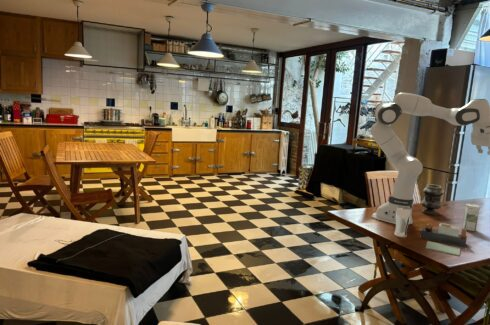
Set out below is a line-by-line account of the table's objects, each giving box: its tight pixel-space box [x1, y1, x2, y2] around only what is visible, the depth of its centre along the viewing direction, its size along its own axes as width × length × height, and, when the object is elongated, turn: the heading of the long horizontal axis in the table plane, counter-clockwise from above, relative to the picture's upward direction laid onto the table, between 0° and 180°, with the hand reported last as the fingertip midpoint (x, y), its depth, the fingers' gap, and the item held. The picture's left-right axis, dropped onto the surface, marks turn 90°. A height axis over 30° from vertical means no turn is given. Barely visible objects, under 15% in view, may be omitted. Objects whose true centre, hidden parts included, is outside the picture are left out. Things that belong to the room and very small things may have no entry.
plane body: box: [419, 222, 468, 248], centre depth 183 cm, size 20×7×8 cm, turn 57°
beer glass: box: [393, 206, 411, 239], centre depth 186 cm, size 7×7×15 cm
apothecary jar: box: [420, 183, 444, 216], centre depth 233 cm, size 12×12×18 cm
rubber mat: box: [425, 240, 461, 257], centre depth 172 cm, size 14×10×1 cm
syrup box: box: [462, 202, 481, 232], centre depth 202 cm, size 6×6×14 cm
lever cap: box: [437, 222, 461, 237], centre depth 181 cm, size 9×5×5 cm, turn 57°
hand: (485, 153), depth 195 cm, fingers open, 8 cm apart
